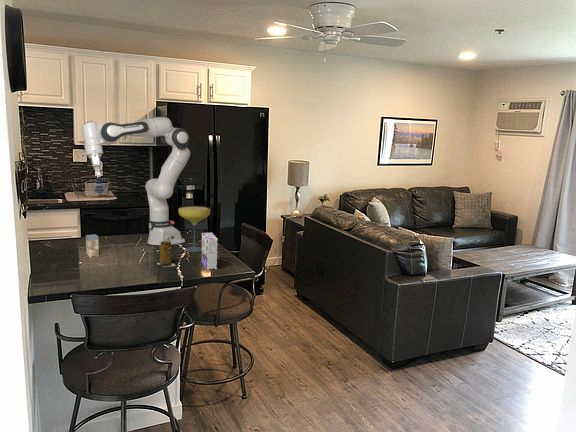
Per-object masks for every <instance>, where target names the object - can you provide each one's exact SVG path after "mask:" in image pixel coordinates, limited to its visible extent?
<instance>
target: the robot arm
mask: <svg viewBox="0 0 576 432" xmlns="http://www.w3.org/2000/svg"><path fill="white" fill-rule="evenodd" d="M81 133H82V134H81V135H82V139H83V142H84V145H83V147H84V151H85V155H86V156H87V157H88V158H89V159H90V162H91V164H92V168H93V170H94V171H95V173H96V177H97V178H101V172H100V171H101V167H102V166H101V165H102V164H101V163H102V162H101V158H102V155H103V154H104V151H103V145H106V146H107V145H108V146H109V145H112V144H115V142H116V141H117V140H119V139H120V138H122V137H124V136H133V135H139V136H141V137H142V138H145V139H147V138H157V137H162V139H163V141H164V142H165V144H166V145H168V146H170V147H171V148H172V150H171V152H170V154H169V155H168V157H167V159H166V160H165V161H164V163H163V164H162V166H161V169H160V174H159V175H158V178H151V179H149V180H148V181H147V182H146V183H145V191H146V193H147V200H148V206H149V220H148V221H149V222H148V228H149V231H148V232H149V235H148V239H147V241H146V242H147V244H148V245H153V246H160V245H161V242H162V241H170V242H171V246H172V245H177V244H182V243H186V240H185V238H183V237H182V234H181V232H180V231H179V229H177V228H176V227H174V226H173V225H174V224H175V221H173V220H170V219H169V218H170V217H169V215H170V214H169V205H168V202H167V199H169V198H171V197H172V196H173V194H174V188H175V185H176V182H177V180H178V178H179V176H180V175H181V172H182V171H183V170H184V168H185V166H186V164H187V163H188V161H189V159H190V156H191V151H190V149H189V148H188V147H189V144H190V143H189V142H190V134H189V132H188V131H187V130H185V129H184V128H179V127H174V126H173V123H172V121H171V120H170V118H169V117H166V116H164V117H163V116H157V117H150V118H145V119H141V120H139V121H137V122H130V123H129V122H128V123H121V124H120V123H116V122H106V123H105V124H100V123H98V122H97V121H95V120H94V121H93V120H91V121H87V122H84V123H83V124H82V126H81Z"/></svg>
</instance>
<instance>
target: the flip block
mask: <svg viewBox="0 0 576 432" xmlns="http://www.w3.org/2000/svg"><path fill="white" fill-rule="evenodd" d="M85 246H86V247H85V249H86V250H85V251H86V252H85V254H87V255H88V256H89V257H88V256H87V255H86V256H87V257H88V258H93V257H92V256H95V257H99V256H100V255H99V253H100V251H99V250H100V249H99V235H97V234H86V235H85Z"/></svg>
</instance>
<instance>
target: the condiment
mask: <svg viewBox="0 0 576 432" xmlns="http://www.w3.org/2000/svg"><path fill="white" fill-rule="evenodd" d="M172 261H173V249H172V245H171V242H170V241H162V242H161V245H159V262H157V263H156V264H157V265H158V266H160V267H161V268H168V267H169V268H170V267H175V266H177V265H176V264H175V263H172Z"/></svg>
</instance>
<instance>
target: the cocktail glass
mask: <svg viewBox="0 0 576 432" xmlns="http://www.w3.org/2000/svg"><path fill="white" fill-rule="evenodd" d="M178 215H179V216H180V217H181V218H183V219H184V220H187V221H189V222H190V223H191V224H192V225H193V244H192V245H193V246H189V247H185V249H184V251H186V252H189V253H199V252H202V246H201V247H200V246H196V225H197V224H198V223H199V222H201V221H202V220H204V219H206V218H208V217H209V216H210V215H211V207H209V206H206V205H194V204H193V205H192V204H191V205H181V206H179V208H178Z"/></svg>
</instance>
